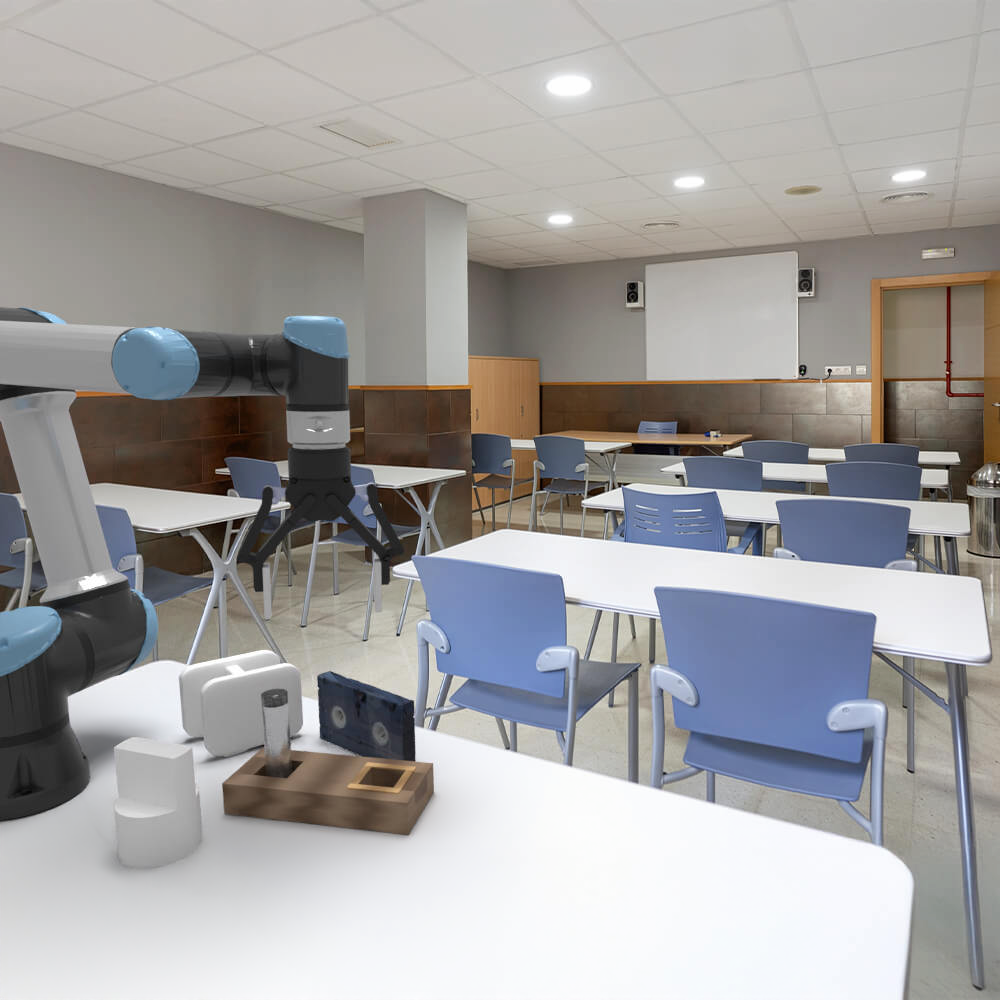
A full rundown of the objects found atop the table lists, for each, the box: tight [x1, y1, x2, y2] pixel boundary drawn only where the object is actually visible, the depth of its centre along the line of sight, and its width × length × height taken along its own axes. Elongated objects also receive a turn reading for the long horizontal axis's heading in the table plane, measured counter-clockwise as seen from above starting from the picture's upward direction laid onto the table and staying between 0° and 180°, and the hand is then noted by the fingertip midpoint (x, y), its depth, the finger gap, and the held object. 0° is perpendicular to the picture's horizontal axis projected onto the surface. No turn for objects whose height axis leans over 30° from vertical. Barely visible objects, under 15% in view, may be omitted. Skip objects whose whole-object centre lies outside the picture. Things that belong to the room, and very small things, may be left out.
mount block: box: [221, 747, 435, 836], centre depth 102 cm, size 24×10×4 cm, turn 77°
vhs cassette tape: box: [316, 670, 417, 762], centre depth 115 cm, size 18×3×10 cm, turn 49°
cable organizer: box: [178, 649, 304, 758], centre depth 121 cm, size 15×11×12 cm
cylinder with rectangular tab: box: [113, 736, 203, 869], centre depth 93 cm, size 9×9×12 cm
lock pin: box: [261, 689, 292, 778], centre depth 103 cm, size 3×3×14 cm
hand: (323, 613), depth 102 cm, fingers open, 13 cm apart
